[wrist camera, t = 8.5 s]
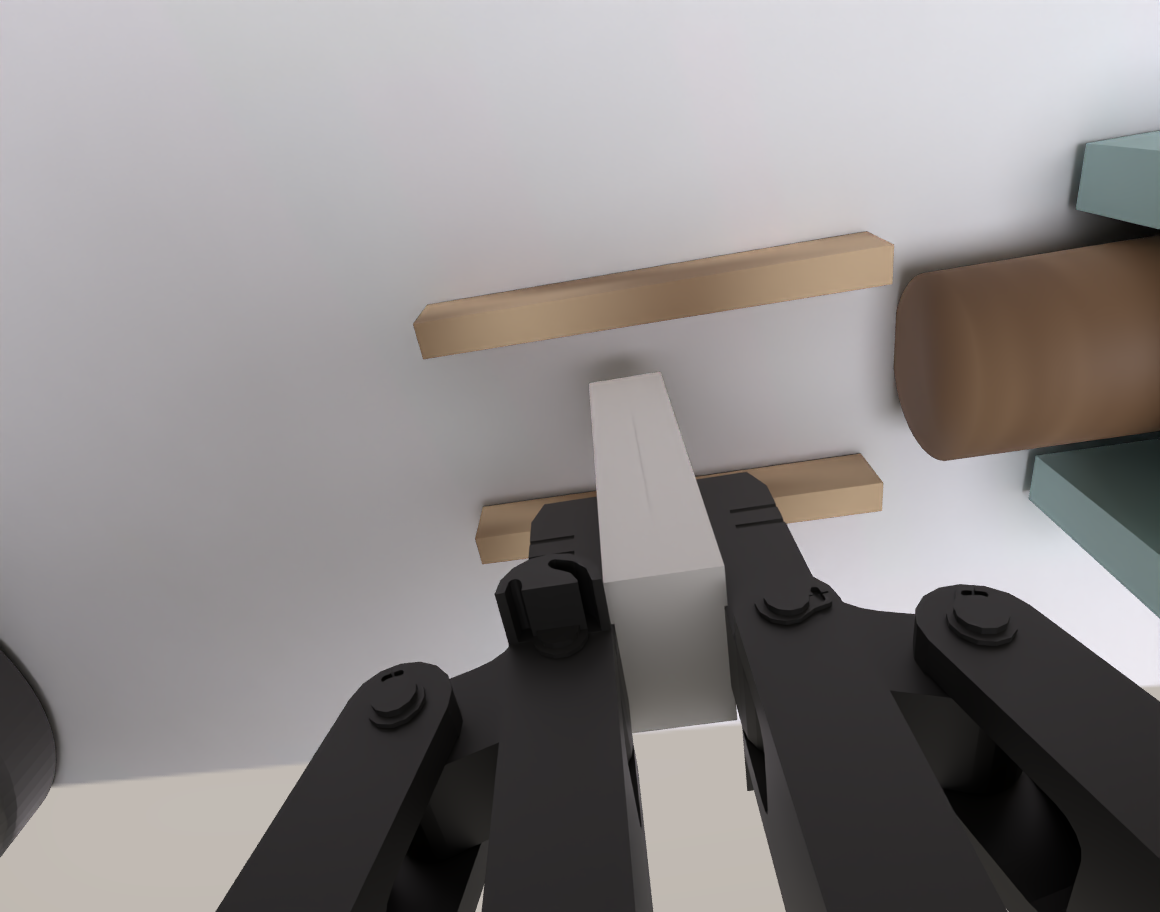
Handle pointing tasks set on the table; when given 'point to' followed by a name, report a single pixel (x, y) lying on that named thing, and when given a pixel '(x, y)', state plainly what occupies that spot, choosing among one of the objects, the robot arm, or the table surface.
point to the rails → (660, 298)
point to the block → (1123, 471)
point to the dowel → (1032, 350)
